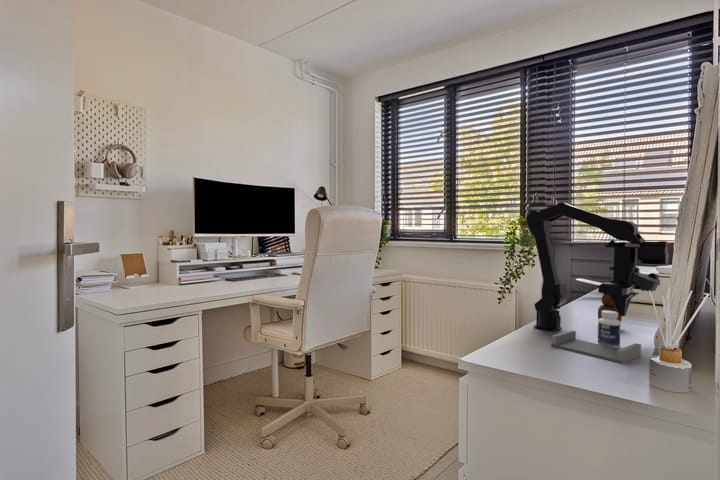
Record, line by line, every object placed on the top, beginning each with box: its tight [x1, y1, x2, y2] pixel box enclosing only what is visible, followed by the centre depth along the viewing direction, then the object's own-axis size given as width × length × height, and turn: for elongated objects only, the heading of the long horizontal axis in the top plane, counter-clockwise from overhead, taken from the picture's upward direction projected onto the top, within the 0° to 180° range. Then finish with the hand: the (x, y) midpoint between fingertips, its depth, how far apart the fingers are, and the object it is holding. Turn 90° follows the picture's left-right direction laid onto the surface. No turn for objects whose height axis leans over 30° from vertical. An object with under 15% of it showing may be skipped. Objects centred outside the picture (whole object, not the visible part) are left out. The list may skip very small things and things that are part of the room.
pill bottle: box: [597, 310, 622, 349], centre depth 115 cm, size 5×5×10 cm
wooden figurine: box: [597, 293, 623, 323], centre depth 137 cm, size 7×6×15 cm
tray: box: [550, 329, 642, 364], centre depth 110 cm, size 18×11×3 cm, turn 35°
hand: (622, 316), depth 120 cm, fingers closed
